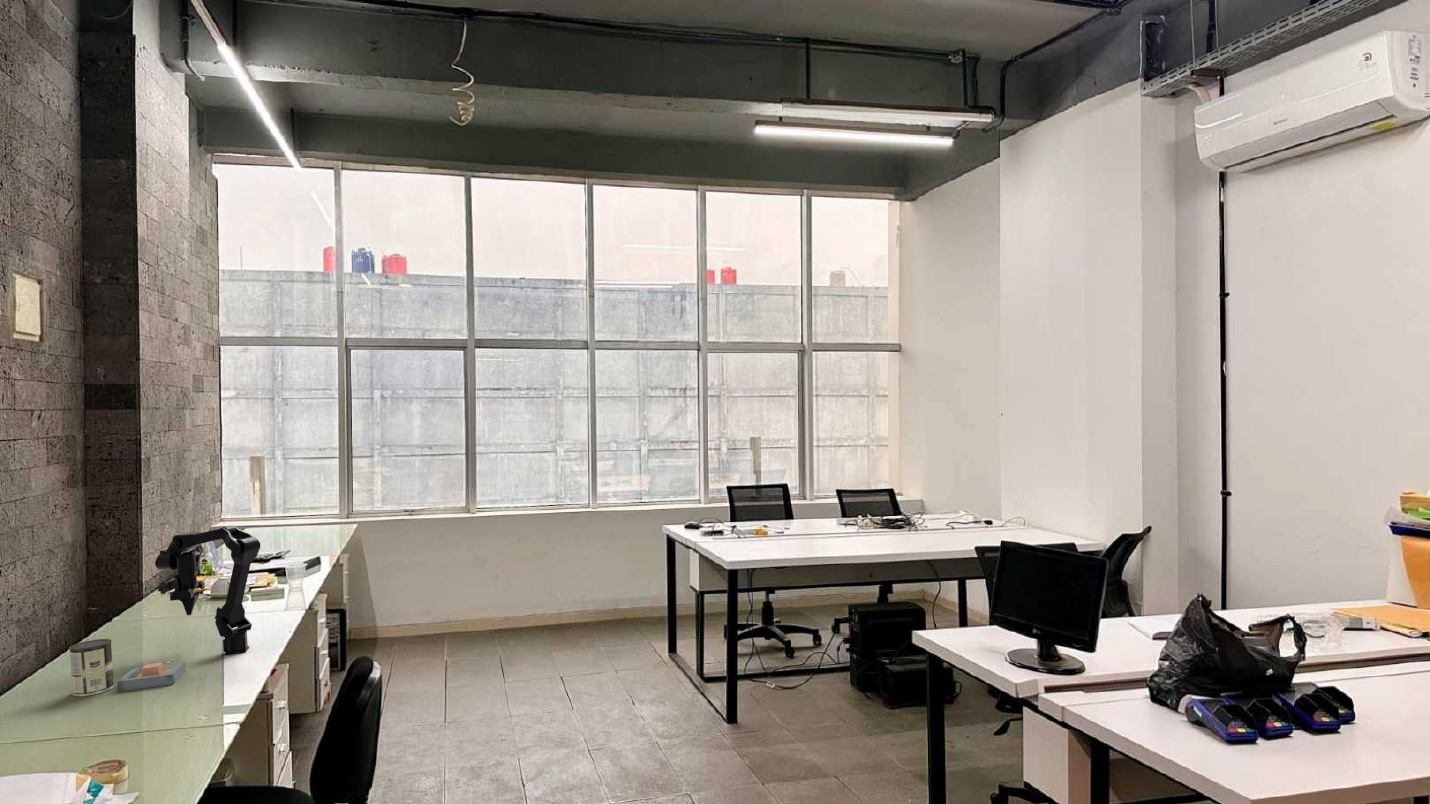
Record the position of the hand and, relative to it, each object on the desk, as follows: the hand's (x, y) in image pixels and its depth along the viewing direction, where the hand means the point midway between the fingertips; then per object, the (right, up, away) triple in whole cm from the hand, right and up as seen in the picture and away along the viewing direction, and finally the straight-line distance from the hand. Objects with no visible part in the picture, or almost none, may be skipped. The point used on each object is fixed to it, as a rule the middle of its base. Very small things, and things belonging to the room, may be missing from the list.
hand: (189, 615), depth 299 cm
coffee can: (-5, -13, -39) cm, 42 cm away
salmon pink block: (+9, -10, -33) cm, 36 cm away
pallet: (+9, -12, -33) cm, 36 cm away
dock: (+8, -12, -32) cm, 35 cm away
